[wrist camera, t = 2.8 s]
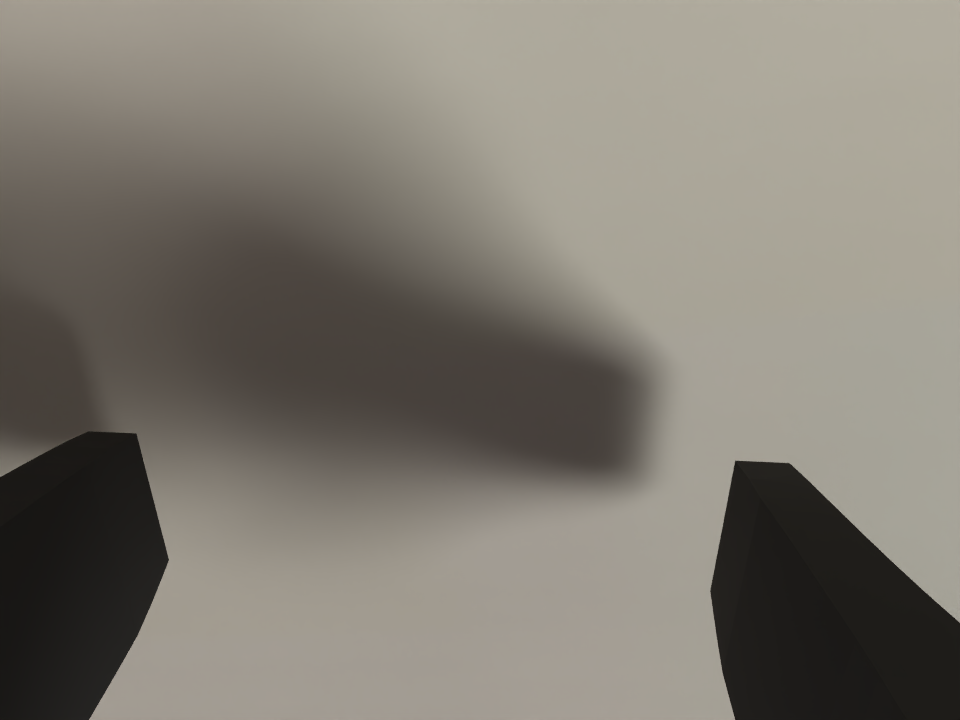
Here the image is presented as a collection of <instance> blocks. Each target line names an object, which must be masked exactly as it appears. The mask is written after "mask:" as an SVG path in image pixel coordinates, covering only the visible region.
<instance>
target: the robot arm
mask: <svg viewBox="0 0 960 720" xmlns="http://www.w3.org/2000/svg"><path fill="white" fill-rule="evenodd" d="M168 561H169V559H168V555H167V551H166V547H165V543H164V539H163V535H162V532H161V528H160V524H159V520H158V516H157V512H156V508H155V504H154V500H153V497H152V493H151V489H150V485H149V481H148V477H147V473H146V469H145V466H144V462H143V458H142V454H141V450H140V446H139V442H138V438H137V434H133V433H111V432H87V433H84V434H82V435H80V436H78V437H76V438H73V439H71V440H69V441H67V442H65V443H63V444H61V445H59V446H57V447H55V448H53V449H51V450H49V451H48V452H46V453H44V454H42V455H40V456H38V457H36V458H34V459H33V460H31V461H29V462H27V463H25V464H23V465H22V466H20V467H18V468H16V469H14V470H13V471H11V472H9V473H7V474H5V475H4V476H2V477H0V720H89V719H90V717H91V715H92V714H93V712H94V710H95V709H96V707H97V705H98V703H99V702H100V700H101V698H102V697H103V695H104V693H105V691H106V690H107V688H108V686H109V684H110V683H111V681H112V679H113V678H114V676H115V674H116V672H117V671H118V669H119V667H120V665H121V664H122V662H123V660H124V658H125V657H126V655H127V653H128V651H129V650H130V648H131V646H132V644H133V642H134V641H135V639H136V637H137V635H138V633H139V631H140V629H141V626H142V624H143V622H144V619H145V617H146V615H147V613H148V610H149V608H150V606H151V604H152V601H153V599H154V596H155V594H156V591H157V589H158V586H159V584H160V581H161V579H162V576H163V574H164V571H165V569H166V566H167V563H168ZM710 592H711V599H712V606H713V613H714V620H715V627H716V634H717V640H718V647H719V653H720V659H721V665H722V671H723V676H724V679H725V683H726V687H727V691H728V694H729V698H730V702H731V705H732V709H733V713H734V716H735V720H960V623H959V622H958V621H957V620H956V619H955V618H954V617H952V616H951V615H950V614H949V613H948V612H947V611H946V610H944V609H943V608H942V607H941V606H940V605H939V604H938V603H937V602H935V601H934V600H933V599H932V598H931V597H930V596H929V595H928V594H926V593H925V592H924V591H923V590H922V589H921V588H920V587H919V586H918V585H917V584H915V583H914V582H913V581H912V580H911V579H910V578H909V577H908V576H907V575H906V574H905V573H904V572H902V571H901V570H900V569H899V568H898V567H897V566H896V565H895V564H894V563H893V562H892V561H891V560H890V559H889V558H887V557H886V556H885V555H884V554H883V553H882V552H881V551H880V550H879V549H878V548H877V547H876V546H875V545H874V544H873V543H872V542H871V541H870V540H869V539H868V538H866V537H865V536H864V535H863V534H862V533H861V532H860V531H859V530H858V529H857V528H856V527H855V526H854V525H853V524H852V523H851V522H850V521H849V520H848V519H847V518H846V517H845V516H844V515H843V514H842V513H841V512H840V511H839V510H838V509H837V508H836V507H835V506H834V505H833V504H832V503H831V502H830V501H828V500H827V499H826V498H825V497H824V496H823V495H822V494H821V493H820V492H819V491H818V490H817V489H816V488H815V487H814V486H813V485H812V484H811V483H810V482H809V481H808V480H807V479H806V478H805V477H804V476H803V475H802V474H801V473H800V472H798V471H797V470H796V469H795V468H794V467H793V466H792V465H791V464H790V463H773V462H751V461H735V465H734V471H733V476H732V481H731V486H730V491H729V497H728V502H727V507H726V512H725V518H724V523H723V528H722V533H721V538H720V544H719V549H718V554H717V559H716V565H715V570H714V575H713V580H712V585H711V591H710Z"/></svg>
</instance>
